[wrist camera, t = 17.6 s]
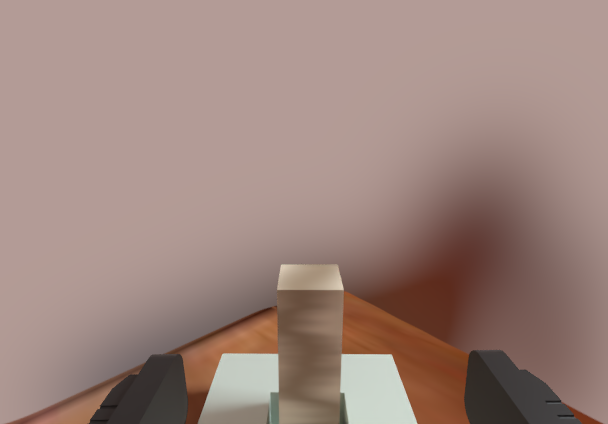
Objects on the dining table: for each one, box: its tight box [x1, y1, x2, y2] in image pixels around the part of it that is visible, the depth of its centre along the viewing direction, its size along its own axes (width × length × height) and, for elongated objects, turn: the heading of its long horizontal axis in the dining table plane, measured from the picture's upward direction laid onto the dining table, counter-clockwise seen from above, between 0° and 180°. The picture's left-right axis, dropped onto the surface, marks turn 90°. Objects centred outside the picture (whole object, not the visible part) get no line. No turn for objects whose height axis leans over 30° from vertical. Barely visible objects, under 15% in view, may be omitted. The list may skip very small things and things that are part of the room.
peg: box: [277, 265, 344, 424], centre depth 25 cm, size 4×4×15 cm
